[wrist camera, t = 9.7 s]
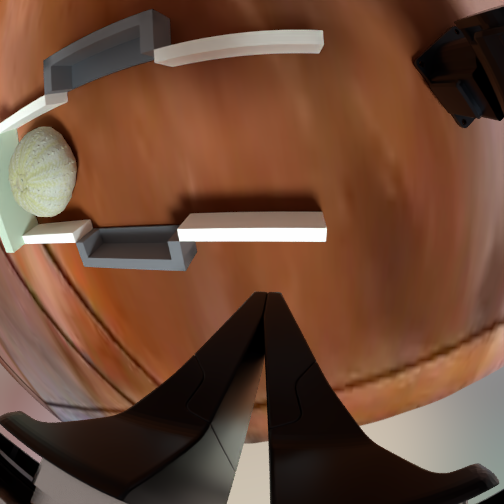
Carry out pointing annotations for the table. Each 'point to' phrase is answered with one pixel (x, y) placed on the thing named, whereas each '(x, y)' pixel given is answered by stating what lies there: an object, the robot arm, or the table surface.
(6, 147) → the end block
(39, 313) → the table surface
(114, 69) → the trap lane
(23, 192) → the sea urchin shell
